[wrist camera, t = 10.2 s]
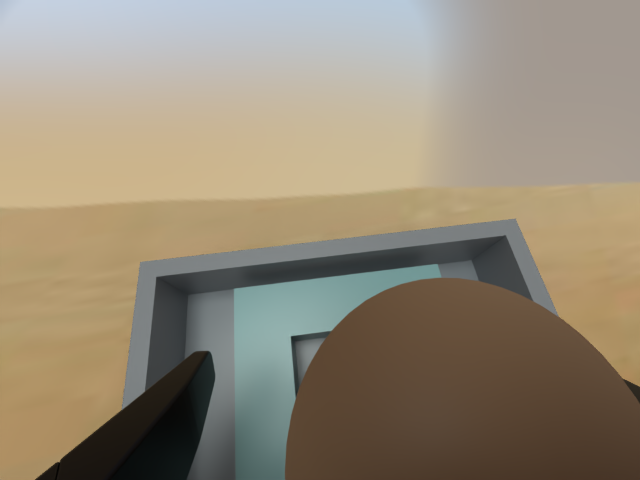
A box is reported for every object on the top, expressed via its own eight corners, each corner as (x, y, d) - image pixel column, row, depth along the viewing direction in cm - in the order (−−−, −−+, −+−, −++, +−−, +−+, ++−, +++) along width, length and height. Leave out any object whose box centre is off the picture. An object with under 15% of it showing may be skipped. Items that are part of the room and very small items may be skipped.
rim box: (575, 522, 13) (675, 581, 9) (157, 593, 12) (86, 690, 8) (476, 249, 18) (515, 218, 15) (178, 285, 17) (140, 261, 14)
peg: (368, 446, 14) (687, 954, 2) (300, 405, 14) (204, 573, 2) (397, 371, 15) (696, 374, 3) (333, 336, 16) (376, 229, 4)
